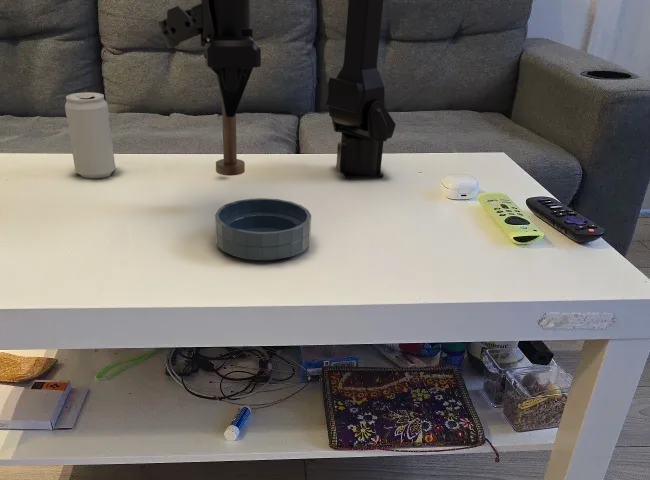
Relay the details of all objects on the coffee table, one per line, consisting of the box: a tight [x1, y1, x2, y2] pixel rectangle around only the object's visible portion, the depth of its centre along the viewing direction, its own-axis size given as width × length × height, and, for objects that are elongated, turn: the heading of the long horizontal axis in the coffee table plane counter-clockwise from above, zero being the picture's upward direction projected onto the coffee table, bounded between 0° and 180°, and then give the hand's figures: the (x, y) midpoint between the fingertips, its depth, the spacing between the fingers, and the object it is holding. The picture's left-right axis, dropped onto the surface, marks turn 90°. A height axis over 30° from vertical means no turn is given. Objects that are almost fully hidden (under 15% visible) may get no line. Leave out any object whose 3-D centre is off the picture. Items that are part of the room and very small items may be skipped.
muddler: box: [215, 98, 246, 177], centre depth 90 cm, size 4×4×11 cm
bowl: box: [214, 197, 312, 262], centre depth 85 cm, size 12×12×4 cm
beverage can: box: [64, 91, 116, 179], centre depth 105 cm, size 6×6×12 cm
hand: (229, 114), depth 88 cm, fingers closed on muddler, 2 cm apart
